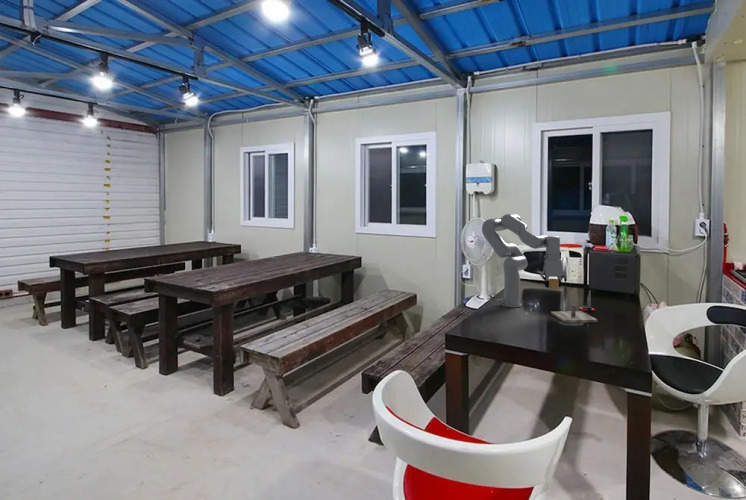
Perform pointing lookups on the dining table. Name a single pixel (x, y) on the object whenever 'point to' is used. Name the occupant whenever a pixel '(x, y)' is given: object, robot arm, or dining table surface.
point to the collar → (553, 283)
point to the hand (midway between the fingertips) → (552, 286)
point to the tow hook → (588, 305)
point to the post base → (573, 316)
